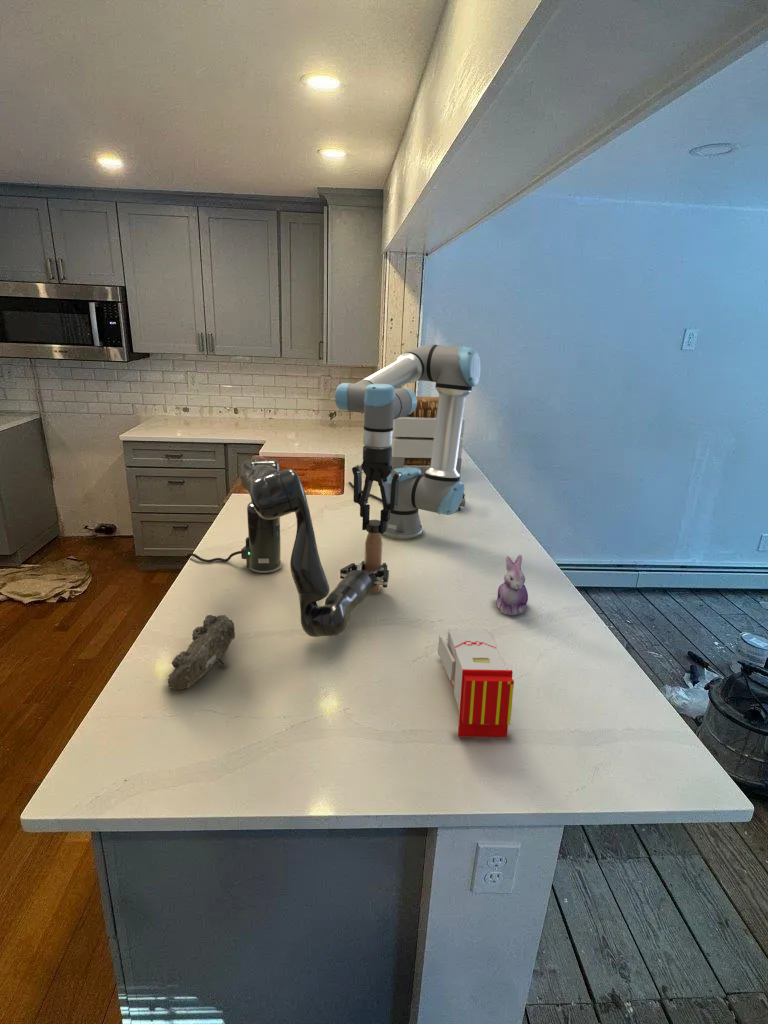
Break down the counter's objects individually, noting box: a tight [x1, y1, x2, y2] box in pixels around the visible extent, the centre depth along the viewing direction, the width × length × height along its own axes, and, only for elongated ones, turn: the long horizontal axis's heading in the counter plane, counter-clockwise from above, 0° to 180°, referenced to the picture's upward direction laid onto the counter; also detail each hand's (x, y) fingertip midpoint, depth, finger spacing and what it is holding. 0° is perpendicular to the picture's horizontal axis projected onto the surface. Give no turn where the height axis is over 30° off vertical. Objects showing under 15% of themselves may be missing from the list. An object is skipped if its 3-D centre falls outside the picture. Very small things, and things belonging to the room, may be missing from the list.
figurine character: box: [457, 493, 466, 511], centre depth 229 cm, size 7×8×15 cm
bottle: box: [364, 532, 383, 594], centre depth 156 cm, size 5×5×20 cm
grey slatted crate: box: [390, 386, 465, 482], centre depth 268 cm, size 34×33×41 cm
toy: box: [437, 628, 515, 738], centre depth 117 cm, size 12×13×30 cm
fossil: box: [167, 614, 236, 691], centre depth 122 cm, size 22×10×15 cm
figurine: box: [496, 554, 529, 616], centre depth 150 cm, size 9×10×15 cm
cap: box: [365, 519, 380, 533], centre depth 153 cm, size 5×4×2 cm
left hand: (376, 564), depth 160 cm, fingers closed on bottle, 4 cm apart
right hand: (374, 530), depth 154 cm, fingers closed on cap, 4 cm apart
